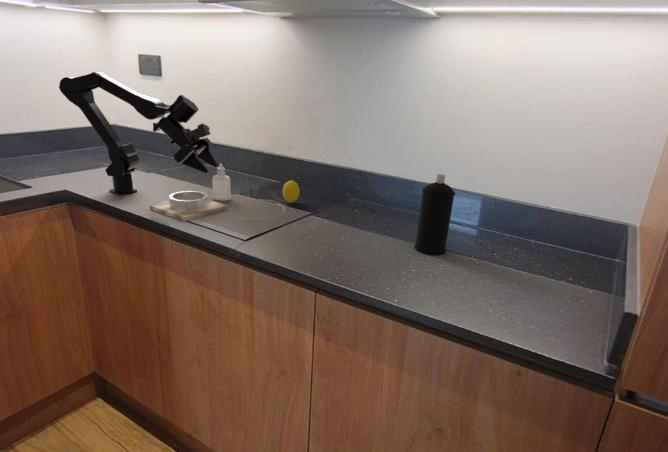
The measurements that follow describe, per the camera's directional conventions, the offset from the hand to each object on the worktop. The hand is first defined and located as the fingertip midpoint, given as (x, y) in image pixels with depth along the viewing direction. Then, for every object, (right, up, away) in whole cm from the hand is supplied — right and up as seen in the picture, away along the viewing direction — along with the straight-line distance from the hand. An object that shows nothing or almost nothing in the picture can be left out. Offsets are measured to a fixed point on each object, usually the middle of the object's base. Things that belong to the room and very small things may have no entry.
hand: (212, 169), depth 139 cm
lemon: (+25, -11, +4) cm, 28 cm away
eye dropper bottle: (+2, -10, +3) cm, 11 cm away
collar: (-5, -12, -9) cm, 16 cm away
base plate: (-5, -13, -8) cm, 16 cm away
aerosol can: (+65, -25, -27) cm, 75 cm away
